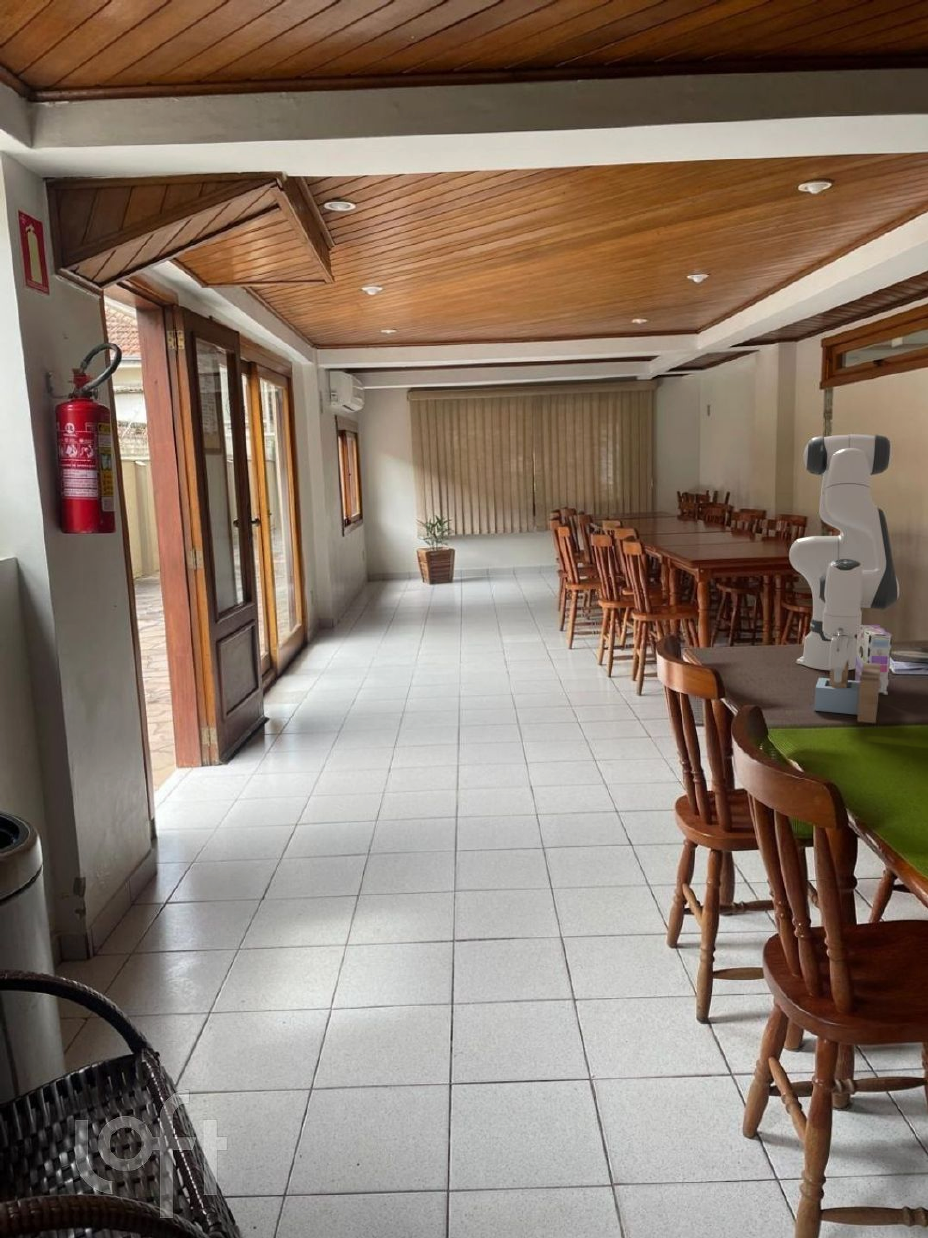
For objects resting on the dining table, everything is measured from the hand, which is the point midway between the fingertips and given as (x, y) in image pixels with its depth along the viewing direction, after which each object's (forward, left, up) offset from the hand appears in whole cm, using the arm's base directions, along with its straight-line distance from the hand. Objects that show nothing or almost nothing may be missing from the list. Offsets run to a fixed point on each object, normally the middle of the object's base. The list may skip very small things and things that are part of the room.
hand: (838, 678), depth 226 cm
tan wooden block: (0, 0, -5) cm, 5 cm away
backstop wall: (0, +7, -8) cm, 10 cm away
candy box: (-23, +7, -8) cm, 25 cm away
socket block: (0, 0, -8) cm, 8 cm away
